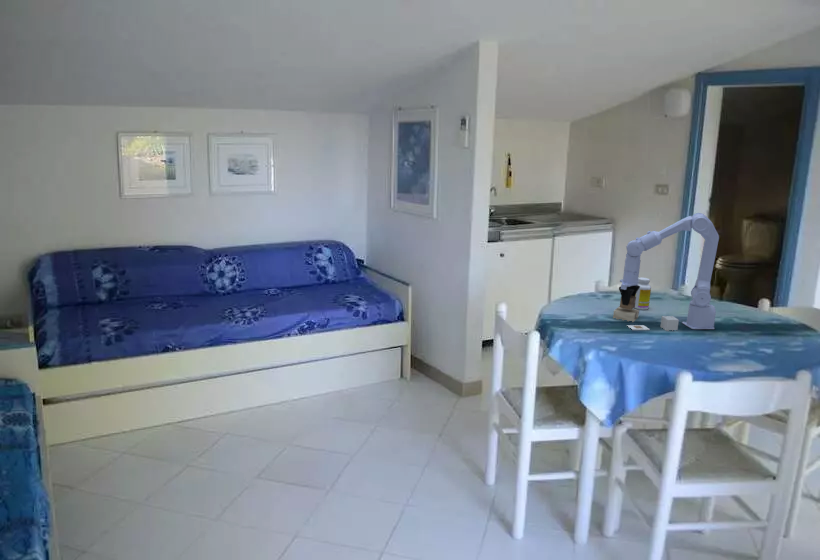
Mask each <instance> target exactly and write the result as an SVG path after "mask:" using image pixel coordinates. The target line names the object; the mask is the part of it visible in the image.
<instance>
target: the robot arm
mask: <svg viewBox="0 0 820 560" xmlns="http://www.w3.org/2000/svg"><path fill="white" fill-rule="evenodd" d="M692 230H693V231H695V232H696V233H697V234H700V235H701V236H702V238H703V239H704V240H703V241H704V242H703V246H702V252H701V257H700V263H699V267H698V273H697V279H696V281H695V283H694V286H693V288H692V289H691V291H690V296H691V298H692V299H691V300H690V301H689V305H688V311H687V312H688V313H687V317H686V321H682V322H681V324H683V325H685V326H686V327H688V328H689V329H691V330H715V320H716V316H717V314H716V313H717V311H716V307H715V306H714V305H713V304H710V303H711V301H712V296H711V292H710V291H711V280H712V274H713V270H714V265H715V259H716V256H717V250H718V244H719V240H720V236H719V233H718V231H717V230H716V227H715V225H714V223H713V222H712V220H710V218H708V217H707V216H706V215H705V213H701V212H697V213H694V214H692V215H689V216H686V217H683V218H682V219H680V220H678V221H676V222H674V223H672V224H671V225H669V226H667V227H665V228H663V229H661V230H660V231H657V230H652V231H651V230H648V231H646V234H645V235H642V236H640V237H635V239H633V240H631V241H628V243H627V245H626V246H625V247H626V254H625V260H624V268H623V275H622V279H619V282H620V283H621V284H620V286H619V287H618V291H619V293H620V295H621V296H620V298H621V297H622V304H623V305H627V306H628V304H629V301H630V297H631V296H635V295H636V293H637V291H638V289H639V288H640V286H639V285H638V283H639V279H638V278H640V277H639V275H640V269H641V255H642V254H643V252H647V251H649V250H650V249H653V248H655V247H657V246H659V245H661V243H662V241H663V240H664V239H666V238H668V237H670V236H673V235H675V234H677V233H680V232H682V231H685V232H688V231H689V232H692Z"/></svg>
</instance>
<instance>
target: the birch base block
mask: <svg viewBox="0 0 820 560" xmlns="http://www.w3.org/2000/svg"><path fill="white" fill-rule="evenodd" d="M639 314H640V309H635V308H633V309H631V310H630V309H625V308H620V305H619V306H618V307H616V308H615V309H613V314H612V315H613V316H612V318H613V319H614V318H616V319H615V320H619V319H622V320H621V321H624V320H627V321H626V322H629V321H632V322H631V323H635V321H636V320H637V319H638V318H639Z"/></svg>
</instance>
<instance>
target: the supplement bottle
mask: <svg viewBox="0 0 820 560" xmlns="http://www.w3.org/2000/svg"><path fill="white" fill-rule="evenodd" d="M638 279H639V283H638V285H639V286H640V288H639V289H638V291H637V293H636V295H635V297H636V301H635V308H634V309H637V310H639V311H644V310H648V309H649V307H650V300H651V292H652V286H651V285H650V284H649V283H650V281H651V279H650V278H647V277H638Z"/></svg>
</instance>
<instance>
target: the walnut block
mask: <svg viewBox="0 0 820 560" xmlns="http://www.w3.org/2000/svg"><path fill="white" fill-rule="evenodd" d="M635 301H636V297H635V296H631V297H630V301H629V304H628V306H627V305H623V304H622V297H621V296H620V302H619V303H620V304H619V306H620V308H625V309H630V310H631V309H635Z"/></svg>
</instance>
